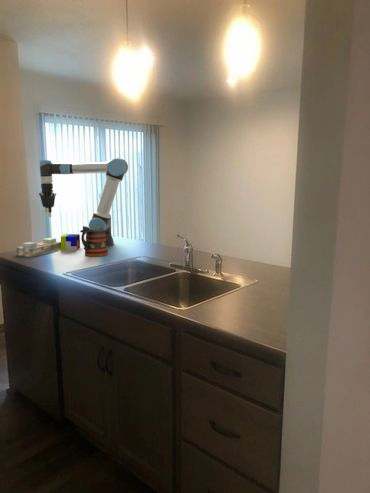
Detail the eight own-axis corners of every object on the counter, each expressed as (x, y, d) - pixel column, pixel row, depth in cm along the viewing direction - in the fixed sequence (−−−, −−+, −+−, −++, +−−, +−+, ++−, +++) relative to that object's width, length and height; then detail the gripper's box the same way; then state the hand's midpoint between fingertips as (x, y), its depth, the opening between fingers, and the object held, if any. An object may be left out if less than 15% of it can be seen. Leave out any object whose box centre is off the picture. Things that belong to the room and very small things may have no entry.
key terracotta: (47, 249, 254) (46, 243, 254) (40, 251, 249) (40, 245, 248) (40, 248, 257) (39, 242, 256) (33, 250, 251) (33, 244, 250)
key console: (61, 249, 263) (61, 242, 263) (31, 257, 238) (31, 249, 237) (48, 247, 268) (47, 240, 267) (17, 255, 243) (16, 247, 242)
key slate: (37, 248, 246) (36, 242, 245) (30, 250, 240) (29, 244, 240) (29, 248, 248) (29, 241, 247) (22, 249, 243) (22, 243, 242)
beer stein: (92, 259, 235) (91, 227, 231) (75, 256, 242) (73, 225, 238) (112, 254, 251) (111, 224, 248) (95, 251, 258) (94, 222, 254)
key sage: (56, 244, 262) (56, 238, 261) (50, 245, 257) (49, 239, 256) (49, 243, 264) (49, 237, 264) (43, 244, 259) (42, 239, 258)
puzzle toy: (75, 251, 258) (75, 236, 256) (61, 250, 258) (60, 236, 256) (80, 248, 268) (79, 234, 266) (66, 248, 268) (65, 234, 266)
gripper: (35, 183, 260) (37, 217, 265) (50, 183, 256) (53, 218, 261) (42, 182, 267) (45, 216, 272) (58, 182, 263) (60, 216, 267)
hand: (49, 217), depth 266 cm, fingers closed
